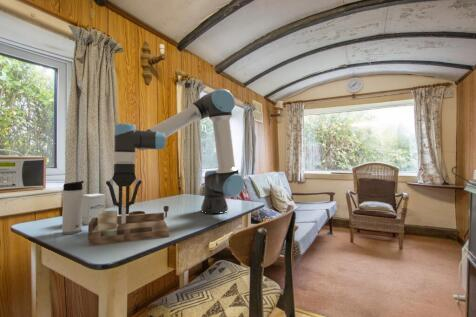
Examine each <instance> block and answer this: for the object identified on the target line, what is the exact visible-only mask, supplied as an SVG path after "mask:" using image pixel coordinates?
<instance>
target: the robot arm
mask: <svg viewBox="0 0 476 317" xmlns="http://www.w3.org/2000/svg"><path fill="white" fill-rule="evenodd" d="M235 106H236V100H235V97H234V95H233V94H232V93H231V92H230V90H228V89H225V88H220V89H219V88H218V89H214V90H213V91H211V92H209V93H206V94H204V95H203V96H201V97H200V98H199V99H197V100H196V101H194V102H192V103H191V104H189V106H188V107H187V108H184V109H183V110H182V111H179V112H178V113H176V114H175V115H172V116H170V117H169V118H166V119H165V120H163V121H160V122H159V123H157V124H156V125H154V126H152V127H149V128H148V129H146V130H139V129H137V127H136V125H135V124H132V123H117V124H116V125H115V126H114V135H113V136H114V138H113V140H114V142H113V143H114V145H113V146H114V152H113V162H114V164H113V174H112V178H111V179H109V180H107V181H105V185H106V186H107V187H108V189H109V194H110V197H111V201H112V206H116V207H117V208H118V209H117V215H118V216H122V218H121V224H124V223H126V215H129V213H130V206H132V205H134V204H135V203H136V202H135V201H136V198H137V194H138V191H139V187H140V186H141V184H142V183H143V182H142V180H141V179H139V178H137V176H136V164H135V162H136V150H139V151H145V150H157V151H158V150H163V149H164V148H166V144H167V138H168V137H171V135H173V134H175V133H177V132H178V131H180V130H182V129H184V128H186V127H187V126H189V125H191V124H192V123H195V122H197V121H198V122H199V121H201V120H203V119H206V118H209V120H210V121H211V122H212V125H213V134H214V136H213V137H214V143H215V150H216V161H217V169H215V170H207V171H206V172H205V173H204V190H203V191H204V198H203V201H202V203H201V206H200V212H201V211H203V212H206V213H220V212H225V211H227V210H228V211H229V206H228V204H227V200H226V197H230V198H232V197H235V198H236V197H237V196H239V195H240V194H241V193H242V191H243V190H244V187H245V181H244V178H243V176H242V175H240V174H239V168H237V166H236V165H235V164H236V163H235V156H234V147H233V139H232V131H231V122H230V121H231V118H232V117H233V113H232V111H233V110H234V108H235ZM114 183H115V184H116V186H118V201H117V197H116V192H115V188H114V186H113V185H114ZM134 183H135V185H134V189H133V193H132V196H131V197H132V198H131V199H130V186H132V184H134ZM123 187H125V205H123ZM206 213H205V214H206Z"/></svg>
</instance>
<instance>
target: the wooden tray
mask: <svg viewBox="0 0 476 317" xmlns="http://www.w3.org/2000/svg"><path fill="white" fill-rule="evenodd" d="M121 218H122V215H117V227H116V229H111V230H100V231H98V217H96V218H92V219H91V221H90V223H89V224H88V225H87V226H88V227H87V229H88V230H87V231H88V232H87V239H88V246H89V247H92V246H99V245H109V244H116V243H119V244H120V243H126V242H134V241H135V242H136V241H143V240H153V239H159V238H169V237H170V229H169V227H168V224H167V223H166V221H165V212H152V213H151V212H150V213H145V214H136V215H129V214H126V223H124V224H121ZM152 238H153V239H152Z"/></svg>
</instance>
